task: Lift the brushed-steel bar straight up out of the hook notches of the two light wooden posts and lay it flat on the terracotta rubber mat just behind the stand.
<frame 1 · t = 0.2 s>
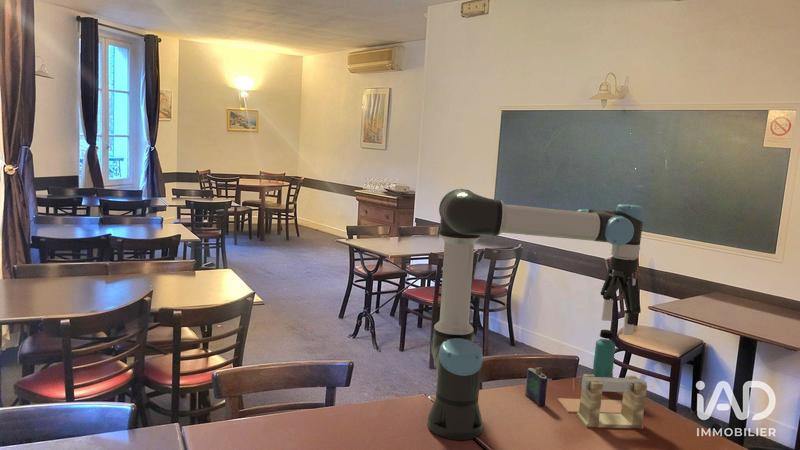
hand: (616, 327, 172), 27 cm above the table, tool pointing down, fingers open, 13 cm apart
mat: (595, 406, 179), on the table
flask: (535, 400, 181), on the table
beverage bottle: (600, 388, 194), on the table
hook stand: (609, 422, 169), on the table
rail: (613, 389, 168), point 10 cm above the table, touching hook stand
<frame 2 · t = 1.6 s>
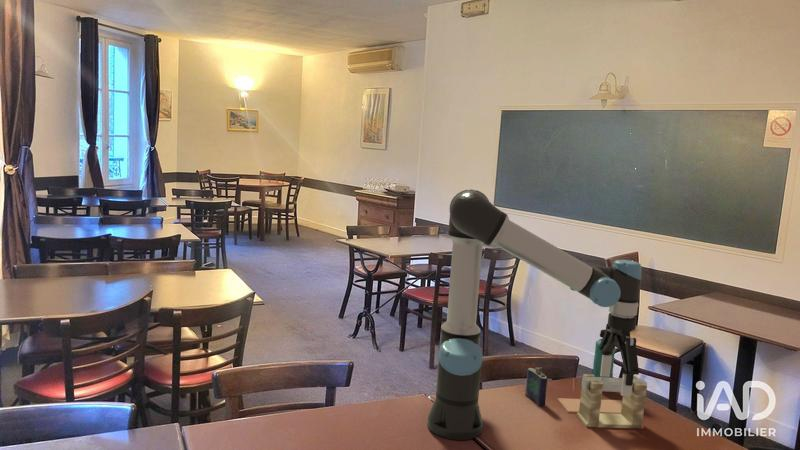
hand: (615, 385, 167), 11 cm above the table, tool pointing down, fingers open, 13 cm apart
nothing on the table moved.
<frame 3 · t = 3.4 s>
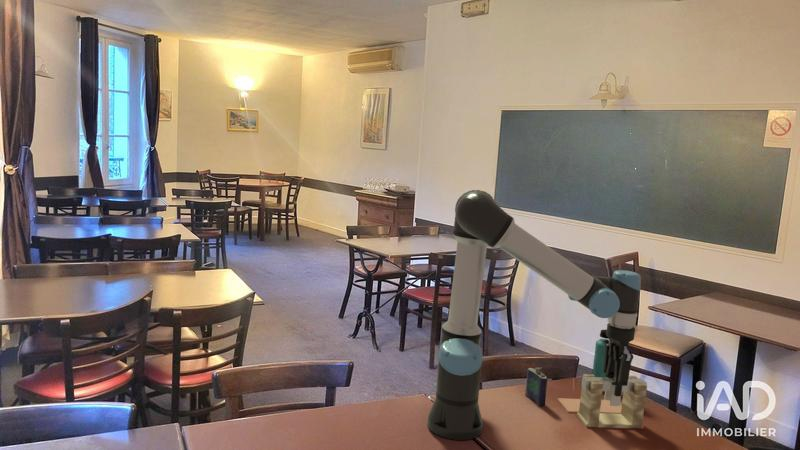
hand: (611, 402, 168), 6 cm above the table, tool pointing down, fingers closed on rail, 3 cm apart
rail: (613, 389, 168), point 10 cm above the table, touching gripper
everything else where it was.
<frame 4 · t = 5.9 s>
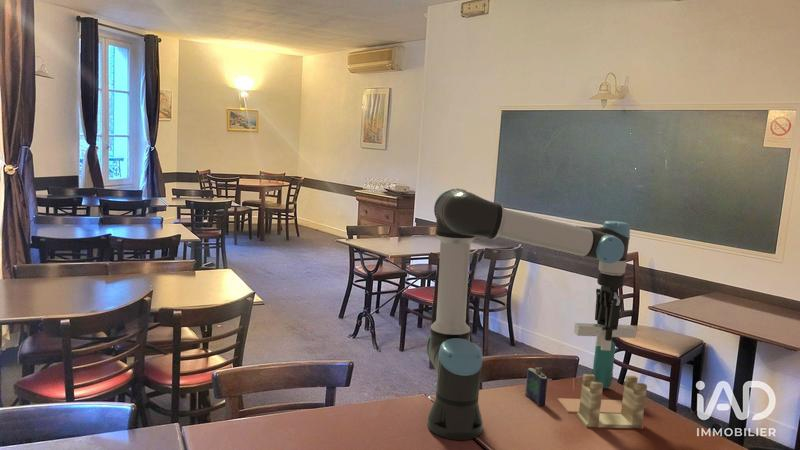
hand: (602, 347, 176), 19 cm above the table, tool pointing down, fingers closed on rail, 3 cm apart
rail: (604, 335, 176), point 23 cm above the table, touching gripper
everything else where it was.
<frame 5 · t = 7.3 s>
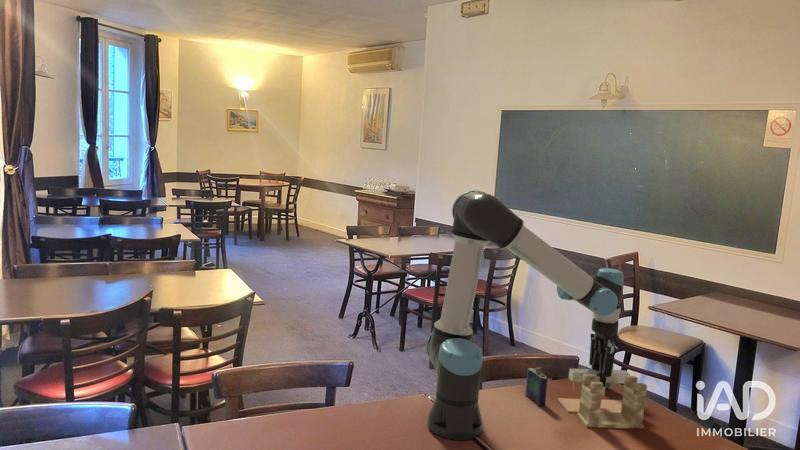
hand: (597, 392, 178), 5 cm above the table, tool pointing down, fingers closed on rail, 3 cm apart
rail: (598, 380, 178), point 8 cm above the table, touching gripper
everything else where it was.
when the fingers open (1 cm above the table, at t = 8.5 s): rail drops 5 cm, resting on mat.
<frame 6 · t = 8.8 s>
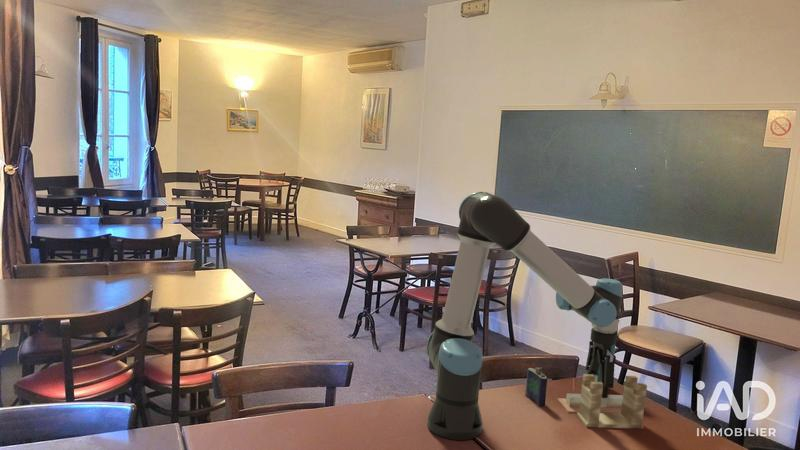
hand: (596, 400, 179), 2 cm above the table, tool pointing down, fingers open, 7 cm apart
rail: (595, 405, 179), resting on mat
everything else where it was.
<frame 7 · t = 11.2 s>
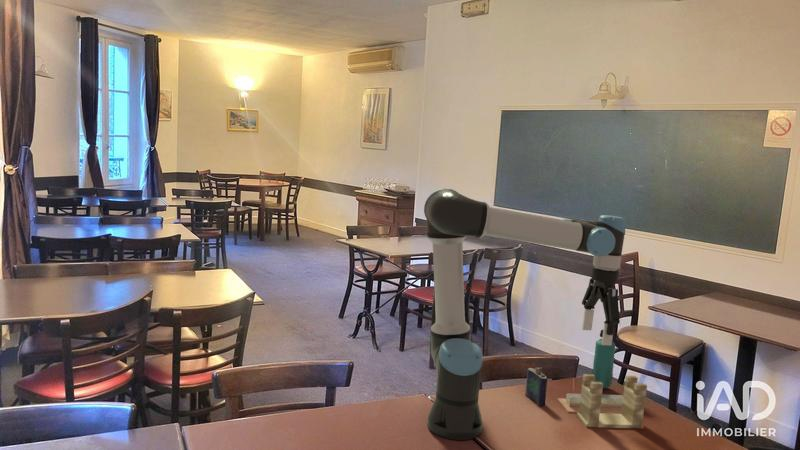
hand: (596, 337, 173), 23 cm above the table, tool pointing down, fingers open, 13 cm apart
nothing on the table moved.
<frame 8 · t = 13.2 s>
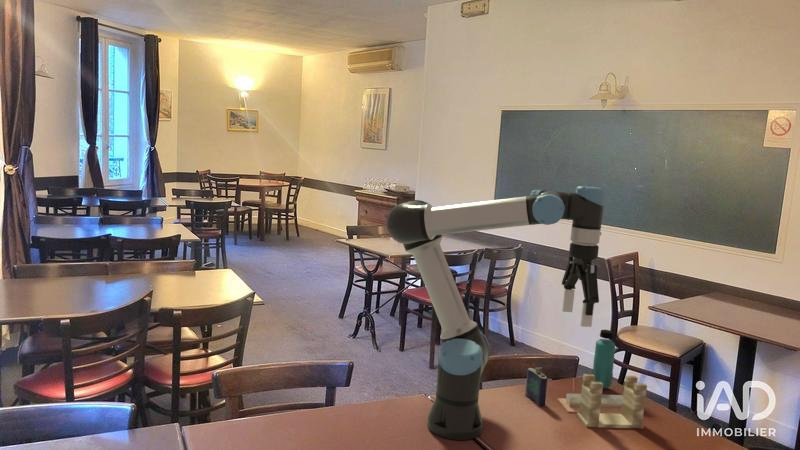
hand: (576, 318, 160), 32 cm above the table, tool pointing down, fingers open, 13 cm apart
nothing on the table moved.
at the end: rail inside the target area (0.0 cm from its centre), resting on mat; the gripper is holding nothing; rail tilted 0° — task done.
